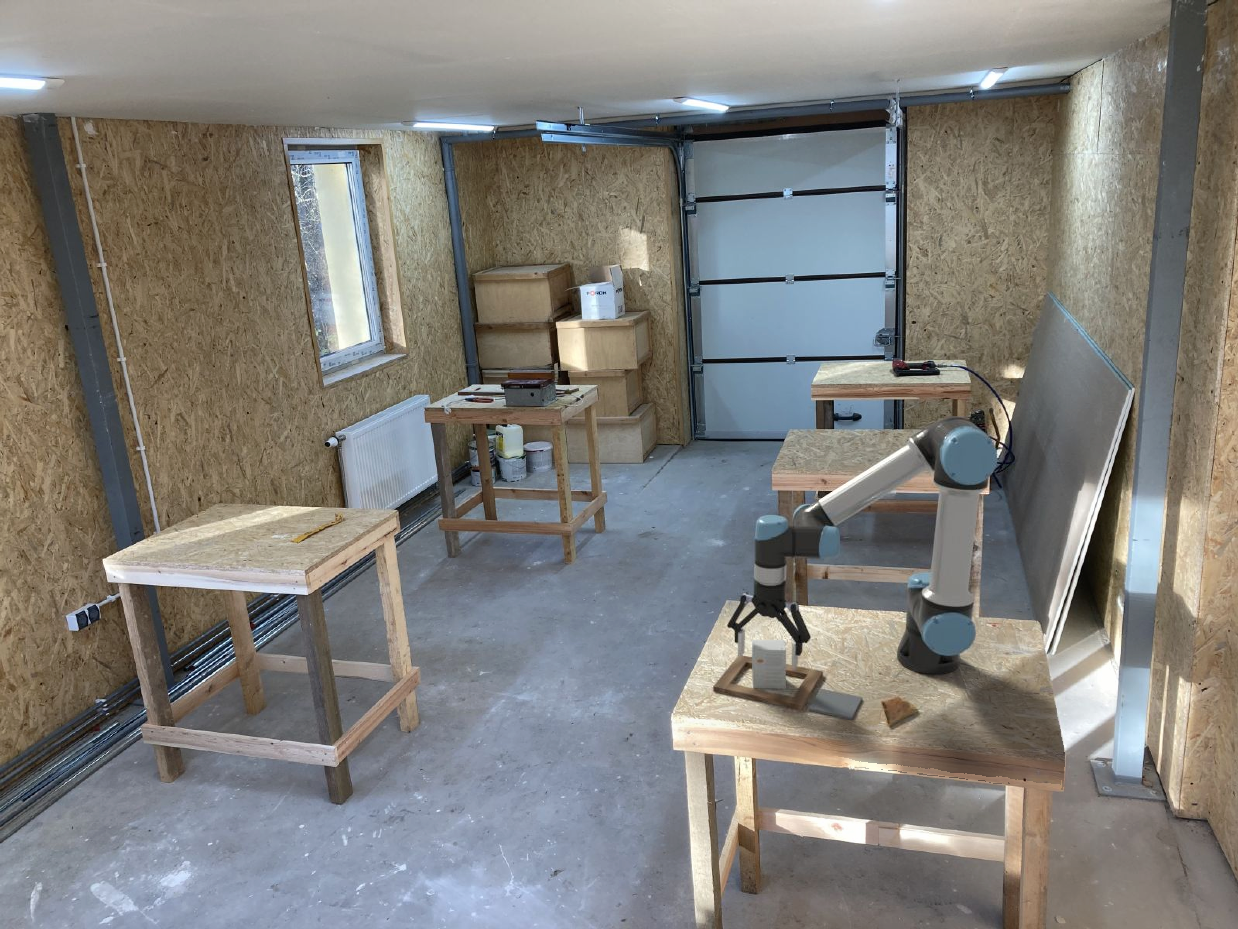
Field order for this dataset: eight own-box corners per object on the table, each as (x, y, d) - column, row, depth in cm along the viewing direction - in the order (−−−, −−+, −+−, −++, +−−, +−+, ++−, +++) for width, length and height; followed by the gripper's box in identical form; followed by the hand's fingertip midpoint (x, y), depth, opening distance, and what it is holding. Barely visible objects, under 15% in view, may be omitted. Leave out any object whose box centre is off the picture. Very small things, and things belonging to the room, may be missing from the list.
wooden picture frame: (822, 675, 235) (822, 671, 234) (801, 710, 219) (801, 705, 219) (739, 659, 244) (739, 654, 244) (713, 690, 229) (713, 686, 229)
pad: (862, 699, 223) (862, 697, 223) (851, 720, 214) (851, 717, 214) (820, 690, 227) (820, 688, 227) (808, 710, 219) (808, 708, 219)
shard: (887, 729, 211) (888, 722, 210) (861, 715, 217) (861, 708, 217) (919, 714, 217) (919, 707, 216) (892, 700, 223) (892, 694, 222)
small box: (784, 678, 234) (785, 639, 231) (786, 689, 229) (786, 650, 226) (751, 677, 235) (752, 638, 232) (752, 688, 230) (752, 649, 227)
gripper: (825, 582, 222) (822, 664, 228) (726, 566, 233) (725, 644, 239) (817, 594, 216) (813, 678, 221) (715, 576, 227) (714, 656, 233)
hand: (767, 660), depth 230 cm, fingers open, 13 cm apart
